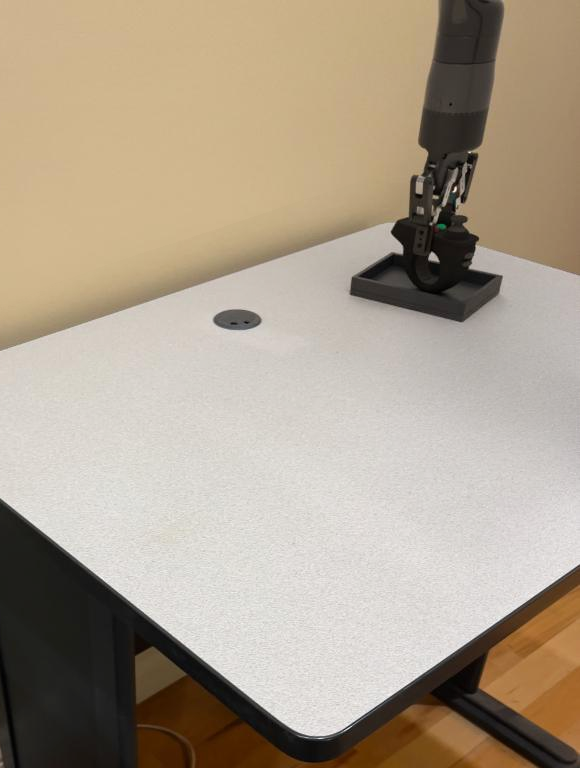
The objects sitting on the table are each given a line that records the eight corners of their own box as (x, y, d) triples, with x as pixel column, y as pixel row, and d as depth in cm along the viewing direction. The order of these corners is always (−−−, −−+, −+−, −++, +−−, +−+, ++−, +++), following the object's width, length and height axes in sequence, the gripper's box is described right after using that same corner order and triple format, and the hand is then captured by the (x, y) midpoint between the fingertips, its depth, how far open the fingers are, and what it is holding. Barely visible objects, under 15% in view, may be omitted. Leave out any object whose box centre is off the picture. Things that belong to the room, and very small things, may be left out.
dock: (499, 293, 119) (503, 275, 118) (462, 322, 113) (465, 303, 112) (389, 268, 128) (391, 251, 126) (349, 294, 122) (351, 276, 120)
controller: (449, 306, 115) (465, 226, 109) (379, 278, 123) (390, 203, 117) (472, 298, 117) (489, 219, 110) (402, 271, 125) (413, 196, 118)
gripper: (459, 119, 99) (433, 271, 111) (512, 93, 107) (483, 237, 119) (398, 111, 103) (378, 259, 114) (453, 87, 111) (430, 227, 122)
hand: (431, 247), depth 116 cm, fingers closed on controller, 5 cm apart
